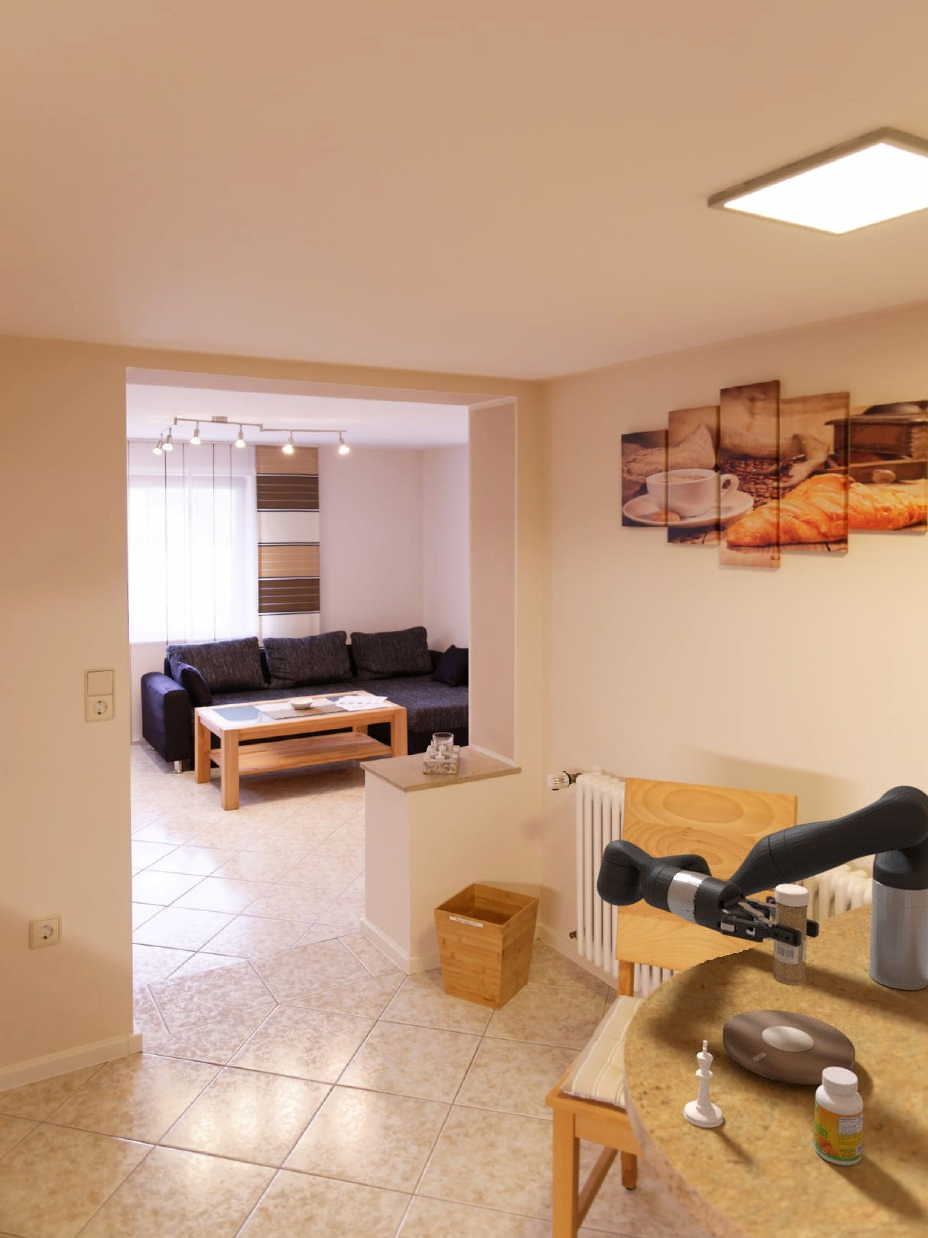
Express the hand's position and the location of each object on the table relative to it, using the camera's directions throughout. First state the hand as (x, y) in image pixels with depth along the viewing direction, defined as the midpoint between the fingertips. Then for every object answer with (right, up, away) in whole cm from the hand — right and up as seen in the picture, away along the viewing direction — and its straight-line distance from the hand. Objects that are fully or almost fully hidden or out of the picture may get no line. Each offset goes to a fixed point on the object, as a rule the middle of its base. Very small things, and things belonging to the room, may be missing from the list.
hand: (808, 935), depth 131 cm
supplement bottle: (-3, -21, -18) cm, 28 cm away
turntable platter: (-2, -18, +3) cm, 18 cm away
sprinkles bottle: (-2, -8, +3) cm, 8 cm away
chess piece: (-18, -20, -11) cm, 29 cm away
